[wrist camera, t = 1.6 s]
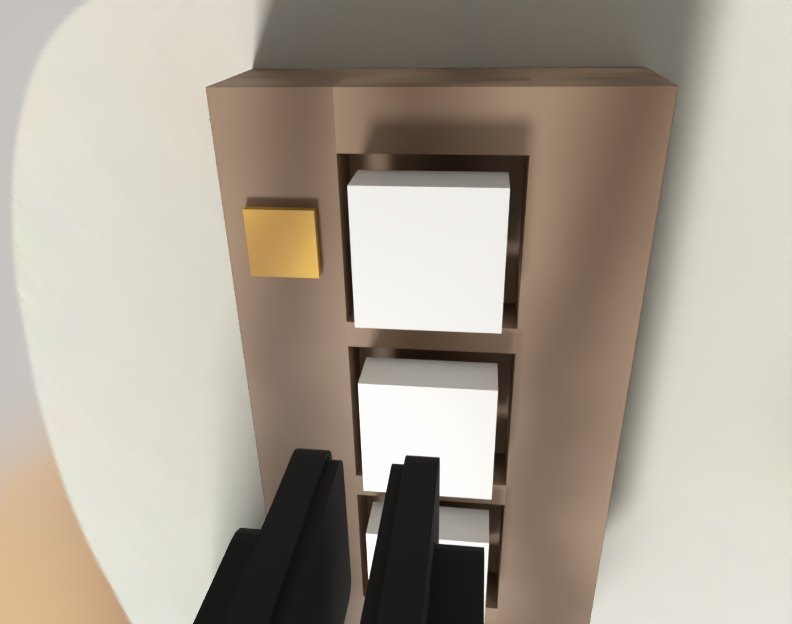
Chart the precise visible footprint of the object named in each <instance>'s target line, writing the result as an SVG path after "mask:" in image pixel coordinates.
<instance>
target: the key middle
mask: <svg viewBox="0 0 792 624" xmlns="http://www.w3.org/2000/svg"><path fill="white" fill-rule="evenodd" d="M358 394H359V413H360V431H361V450H362V469H363V487H364V491H377V492H386V489H387V484H388V479H389V474H390V469H391V465H392V463H393V464H404V460H405V456H406V455H412V456H428V457H440V496H447V497H461V498H475V499H489V500H492V485H493V468H494V451H495V434H496V417H497V400H498V367H497V363H482V362H460V361H439V360H418V359H396V358H375V357H366V360H365V363H364V366H363V369H362V372H361V376H360V379H359V382H358Z"/></svg>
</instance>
